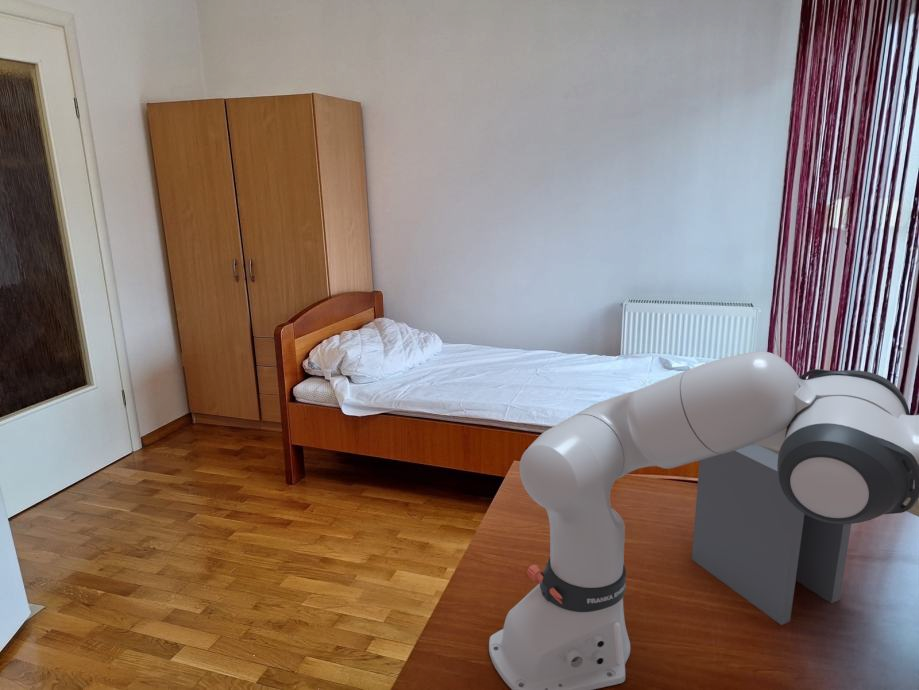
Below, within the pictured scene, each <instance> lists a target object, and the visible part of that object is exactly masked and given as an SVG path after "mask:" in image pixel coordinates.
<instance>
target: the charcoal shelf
mask: <svg viewBox="0 0 919 690" xmlns="http://www.w3.org/2000/svg"><path fill="white" fill-rule="evenodd" d="M778 454H779V453H777V452H775V451H773V450H771V449H768V448H766V447H764V446H762V445H755V446H751V445H749V446H746V447H743V448H740V449H737V450H734V451H731V452H728V453H724V454H721V455H717V456H714V457H710V458H707V459H703V460H699V465H698V476H697V477H698V478H697V487H696V501H695V502H696V503H695V511H694V512H695V513H694V529H693V540H692V549H691V550H692V551H691V560H692V561H693V562H695V563H696V564H697V565H699V566H700V567H701V568H702V569H704V570H705V571H707V572H708V573H709V574H711V575H712V576H713V577H715V578H716V579H718V580H719V581H720V582H722V584H725V585H726V586H728V588H730V589H732V590H733V591H734V592H735V593H737V594H738V595H740V596H741V597H742V598H744V600H746V601H748V602H749V603H750V604H752V606H755V607H756V608H757V609H758V610H760V611H761V612H762V613H764V614H765V615H767V616H768V617H769V618H771V619H772V620H774V621H775V622H777V623H778V624H779V625H780V626H783V625H785V624H787V623H790V622H791V617H792V610H793V603H794V595H795V587H796V582H797V583H799V584H800V585H803V586H804V587H805V588H807V589H808V590H810V591H812V592H813V593H815V594H816V595H818V596H819V597H820V598H822V599H823V600H826V601H827V602H829V603H830V604H834V603H835V602H839V601H840V597H841V592H842V585H843V579H844V573H845V568H846V567H845V566H846V559H847V554H848V546H849V542H850V535H851V529H852V524H833V523H827V522H823V521H819V520H816V519H814V518H812V517H810V516H808V515H806V514H804V513H803V512H801V511H800V510H798V509H797V508H796V507H795V506H794V505H793V504H792V503H791V502H790V501H789V500H788V499H787V497H786V496H785V494H784V492H783V490H782V488H781V485H780V482H779V478H778V470H777V464H778Z"/></svg>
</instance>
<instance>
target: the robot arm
mask: <svg viewBox="0 0 919 690" xmlns="http://www.w3.org/2000/svg"><path fill="white" fill-rule="evenodd" d="M810 375H812V376H810ZM809 376H810V377H809ZM808 377H809V378H808ZM749 445H751V446H755V445H769V446H775V447H780V450H779V454H778V464H777V470H778V478H779V482H780V485H781V488H782V490H783V492H784V494H785V496H786V497H787V499H788V500H789V501H790V502H791V503H792V504H793V505H794V506H795V507H796V508H797V509H798V510H800V511H801V512H803V513H804V514H806V515H808V516H810V517H812V518H814V519H816V520H819V521H823V522H827V523H833V524H851V525H852V524H859V523H863V522H867V521H871V520H873V519H876V518H879V517H880V516H884V515H891V514H902V513H905V512H907V510H909V509H911V508H912V507H913V506H914V505H915V503H916V502H917V500H918V499H919V414H913V415H911V412H910V409H909V405H908V403H907V400H906V398H905V397H904V395H903V393H902V392H901V390H900V389H899V388H898V387H897V386H896V385H895V384H894V383H893V382H892V381H890V380H889V379H887V378H886V377H884V376H881V375H879V374H877V373H873V372H869V371H864V370H858V369H856V370H855V369H853V370H852V369H850V370H849V369H848V370H847V369H846V370H829V369H820V368H816V369H810V370H808V371H806V372H805V373H803V374H802V375H800V376H798V374H797V373H796V371H795V369H793V366H791V365H790V363H788V362H787V361H786V360H785V359H784V358H782V357H781V356H780V355H778V354H775V353H772V352H769V351H761V350H759V351H758V350H757V351H752V352H746V353H745V352H744V353H741V354H735V355H732V356H727V357H723V358H720V359H716V360H715V359H714V360H712V361H710V362H706V363H703V364H700V365H698V366H694V367H692V368H690V369H687V370H684V371H682V372H679V373H677V374H674V375H672V376H670V377H669V376H668V377H667V378H665V379H662V380H659V381H657V382H654V383H651V384H650V385H647V386H645V387H642V388H639V389H636V390H633V391H629V392H626V393H623V394H620V395H616V396H613V397H610V398H608V399H605V400H602V401H600V402H597V403H594V404H592V405H590V406H588V407H586V408H585V409H583V410H581V411H579V412H578V413H576V414H574V415H573V416H570V417H568V418H567V419H565V420H563V421H562V422H560V423H558V424H556V425H554V426H553V427H550V428H549V429H547V430H545V431H544V432H542V433H541V434H540V435H539V436H538V437H537V438H535V440H533V442H532V443H531V444H530V445H529V446H528V448H527V449H525V451H524V452H523V453H522V455H521V457H520V461H519V475H520V480H521V482H522V485H523V488H524V489H525V491H526V493H527V494H528V495H529V497H530V498H531V499H532V500H533V501H534V502H536V504H538V505H539V506H540V507H542V508H544V509H545V510H546V513H547V517H548V522H549V542H550V543H549V545H550V547H549V549H550V551H549V552H550V553H549V555H550V556H549V558H548V561H547V563H546V565H545V567H544V569H543V570H541V568H540V567H539V565H537V564H531V565H530V566H529V567H528V569H527V572H526V573H527V575H528V577H529V578H531V579H532V581H533V582H534V583H538V584H537V585H536V586H535V587H533V588H532V589H531V590H530V591H529V592H528V593H527V594H526V595H525V596H524V597H523V598H522V599H521V600H520V601H519V602H517V603H516V604H515V605H514V607H512V608H511V609H510V610H509V611H508V612H507V615H506V617H505V621H504V625H503V628H502V629H501V630H500V629H499V630H498V631H496V632H495V633H493V634H492V635H490V636H489V641H488V652H489V656H490V660H491V662H492V665H493V667H494V668H495V670H496V671H497V673H498V675H499V676H500V677H501V678H502V680H503V681H504V683H505V684H506V685H507V686H508V687H509V688H510V689H511V690H596V689H597V690H598V689H601V688H605V687H611V686H615V685H619V684H622V683H624V682H625V681H626V664H627V661H628V659H629V657H630V654H631V642H630V639H629V638H630V637H629V634H628V631H627V627H626V621H625V614H624V613H625V612H624V596H625V593H626V586H627V585H626V584H627V583H626V582H627V579H626V578H627V574H626V572H627V571H626V565H625V563H624V558H625V557H624V556H625V539H626V538H625V537H626V536H625V535H626V534H625V533H626V526H625V522H624V520H623V518H622V516H621V514H619V512H617V511H616V510H615V509H614V508H612V506H611V500H610V499H611V498H610V497H611V491H612V487H613V486H614V484H615V482H616V481H617V480H620V479H621V478H622V477H624V476H625V475H628V474H629V473H631V472H633V471H636V470H639V469H641V468H642V469H643V468H648V467H659V468H662V469H668V470H669V469H674V468H677V467H678V468H679V467H681V466H684V465H688V464H692V463H696V462H698V461H699V462H700V460H703V459H707V458H710V457H714V456H717V455H721V454H724V453H728V452H731V451H734V450H737V449H740V448H743V447H746V446H749ZM908 497H909V498H911V500H910V501H909V503H908V504H907V505H906V506H905V505H904V504H903V503H904V502H905V501H906V500H907V499H908Z"/></svg>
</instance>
